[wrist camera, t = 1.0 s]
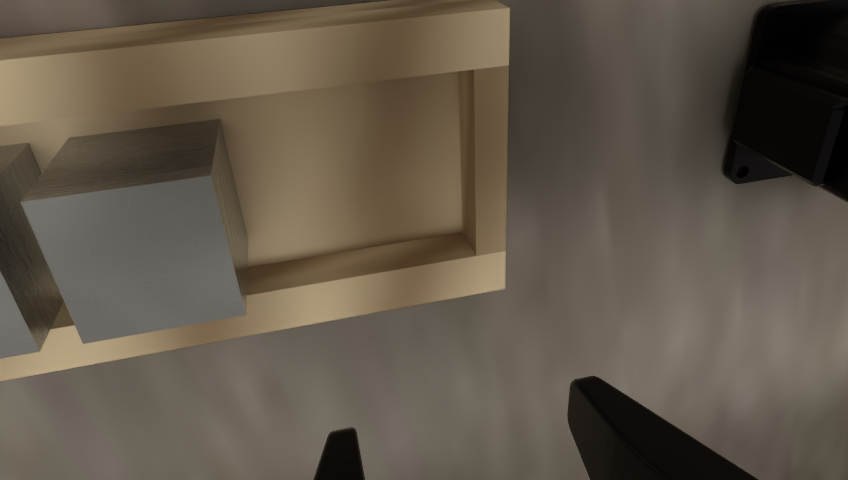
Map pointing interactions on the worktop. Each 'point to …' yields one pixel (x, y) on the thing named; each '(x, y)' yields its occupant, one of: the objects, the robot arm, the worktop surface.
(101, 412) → the worktop surface
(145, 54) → the wooden tray
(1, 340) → the grey square block
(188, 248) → the grey cube
